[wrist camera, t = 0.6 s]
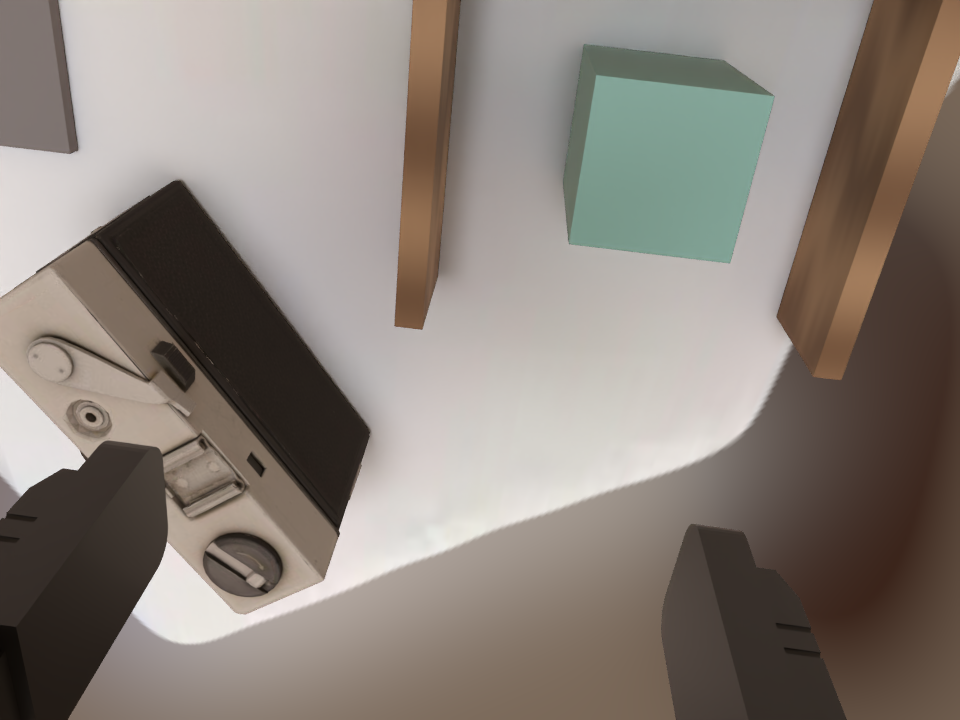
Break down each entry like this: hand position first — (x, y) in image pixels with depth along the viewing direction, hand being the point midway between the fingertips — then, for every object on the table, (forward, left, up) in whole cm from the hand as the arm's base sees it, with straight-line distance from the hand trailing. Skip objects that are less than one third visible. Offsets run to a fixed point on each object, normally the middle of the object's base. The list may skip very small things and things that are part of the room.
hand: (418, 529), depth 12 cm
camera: (+10, -11, -21) cm, 26 cm away
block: (-2, +5, -21) cm, 22 cm away
